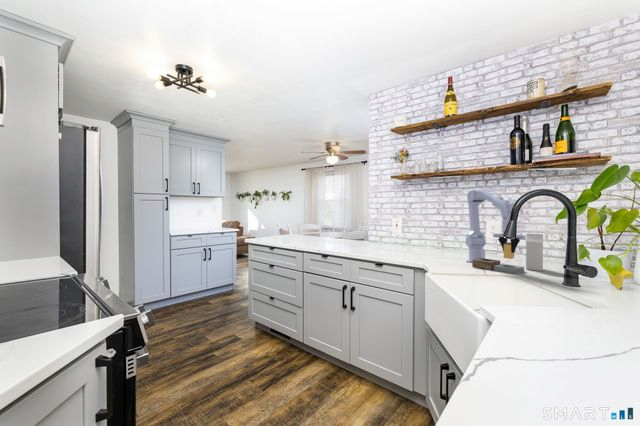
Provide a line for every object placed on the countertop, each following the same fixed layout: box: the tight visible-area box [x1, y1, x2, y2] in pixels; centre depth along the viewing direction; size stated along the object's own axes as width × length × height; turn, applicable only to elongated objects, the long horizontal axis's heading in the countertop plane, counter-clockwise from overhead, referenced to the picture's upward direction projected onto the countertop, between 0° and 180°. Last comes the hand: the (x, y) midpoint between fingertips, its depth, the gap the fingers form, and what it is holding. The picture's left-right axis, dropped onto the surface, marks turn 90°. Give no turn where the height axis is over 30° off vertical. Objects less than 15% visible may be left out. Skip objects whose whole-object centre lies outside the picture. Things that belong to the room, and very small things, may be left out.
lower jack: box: [493, 263, 525, 275], centre depth 151 cm, size 10×10×2 cm
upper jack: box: [471, 257, 501, 271], centre depth 161 cm, size 10×10×4 cm
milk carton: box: [525, 233, 544, 272], centre depth 155 cm, size 7×7×19 cm
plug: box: [503, 241, 515, 260], centre depth 151 cm, size 3×3×8 cm
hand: (508, 252), depth 151 cm, fingers closed on plug, 3 cm apart
